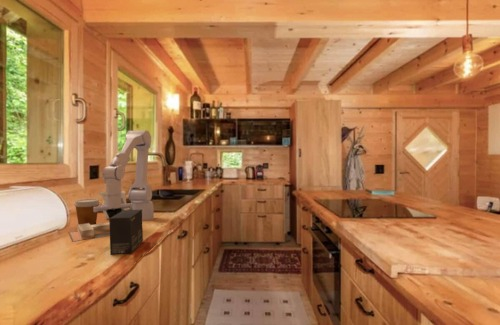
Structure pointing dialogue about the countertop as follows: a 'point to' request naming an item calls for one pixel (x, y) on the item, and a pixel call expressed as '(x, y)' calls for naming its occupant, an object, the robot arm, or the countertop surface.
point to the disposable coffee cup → (86, 211)
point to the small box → (125, 232)
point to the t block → (92, 229)
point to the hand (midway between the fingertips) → (113, 227)
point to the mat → (76, 237)
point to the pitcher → (123, 201)
